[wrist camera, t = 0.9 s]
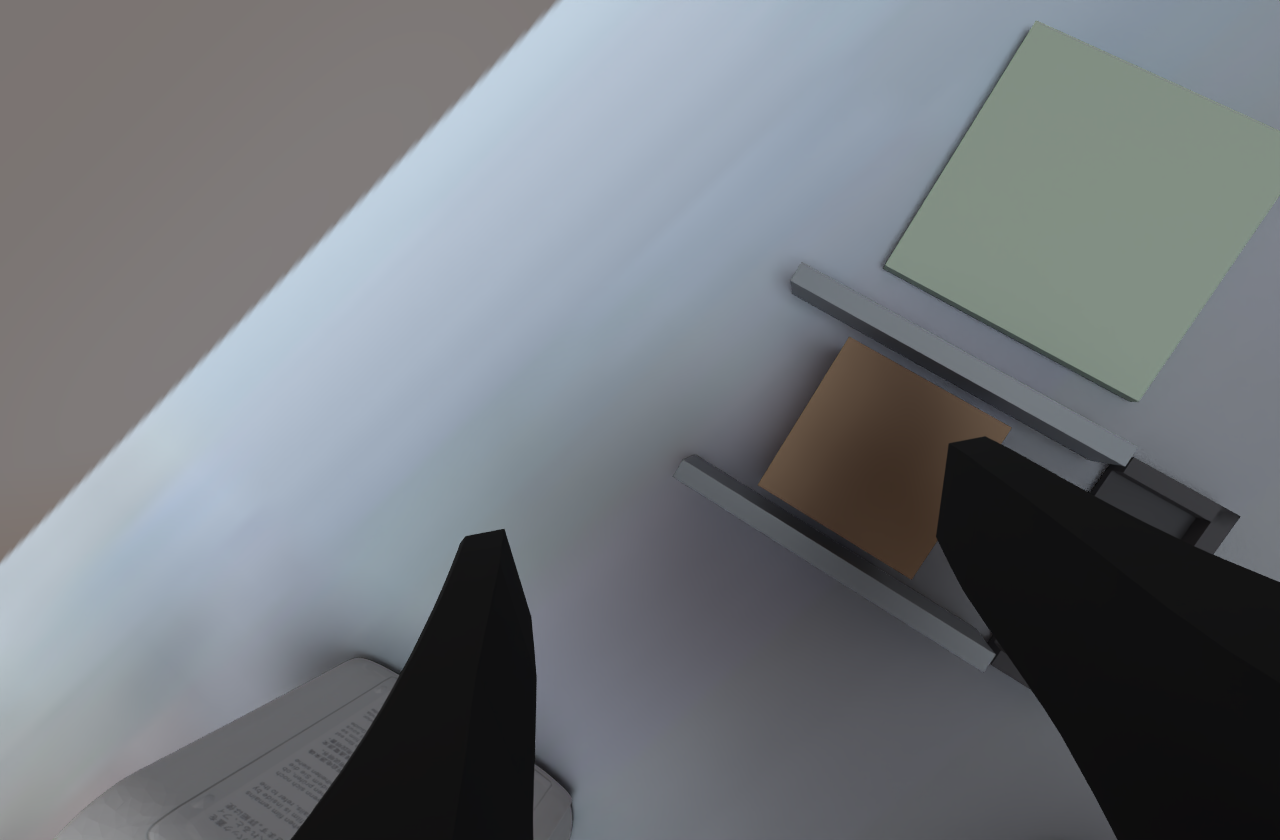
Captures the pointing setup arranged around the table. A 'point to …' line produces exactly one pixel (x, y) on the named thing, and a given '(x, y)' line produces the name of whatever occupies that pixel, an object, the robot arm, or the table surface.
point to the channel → (954, 369)
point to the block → (875, 455)
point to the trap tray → (1151, 518)
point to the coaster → (1091, 210)
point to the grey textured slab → (268, 770)
